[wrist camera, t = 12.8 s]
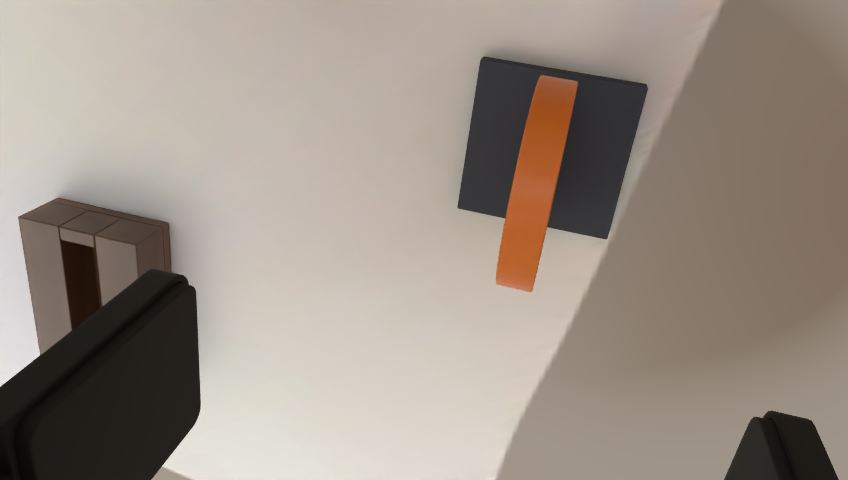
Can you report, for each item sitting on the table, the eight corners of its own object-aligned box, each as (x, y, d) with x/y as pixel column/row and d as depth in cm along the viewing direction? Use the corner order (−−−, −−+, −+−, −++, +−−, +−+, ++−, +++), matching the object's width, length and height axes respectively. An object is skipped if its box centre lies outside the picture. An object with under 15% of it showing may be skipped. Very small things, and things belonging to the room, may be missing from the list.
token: (513, 232, 27) (485, 324, 21) (547, 57, 24) (527, 103, 18) (542, 238, 27) (523, 332, 21) (581, 62, 24) (572, 111, 18)
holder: (77, 349, 37) (43, 375, 34) (57, 197, 33) (17, 216, 30) (176, 376, 36) (148, 405, 33) (168, 223, 32) (135, 244, 29)
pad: (459, 203, 28) (457, 208, 27) (483, 56, 25) (480, 58, 24) (607, 233, 27) (607, 240, 26) (647, 84, 24) (648, 87, 24)
